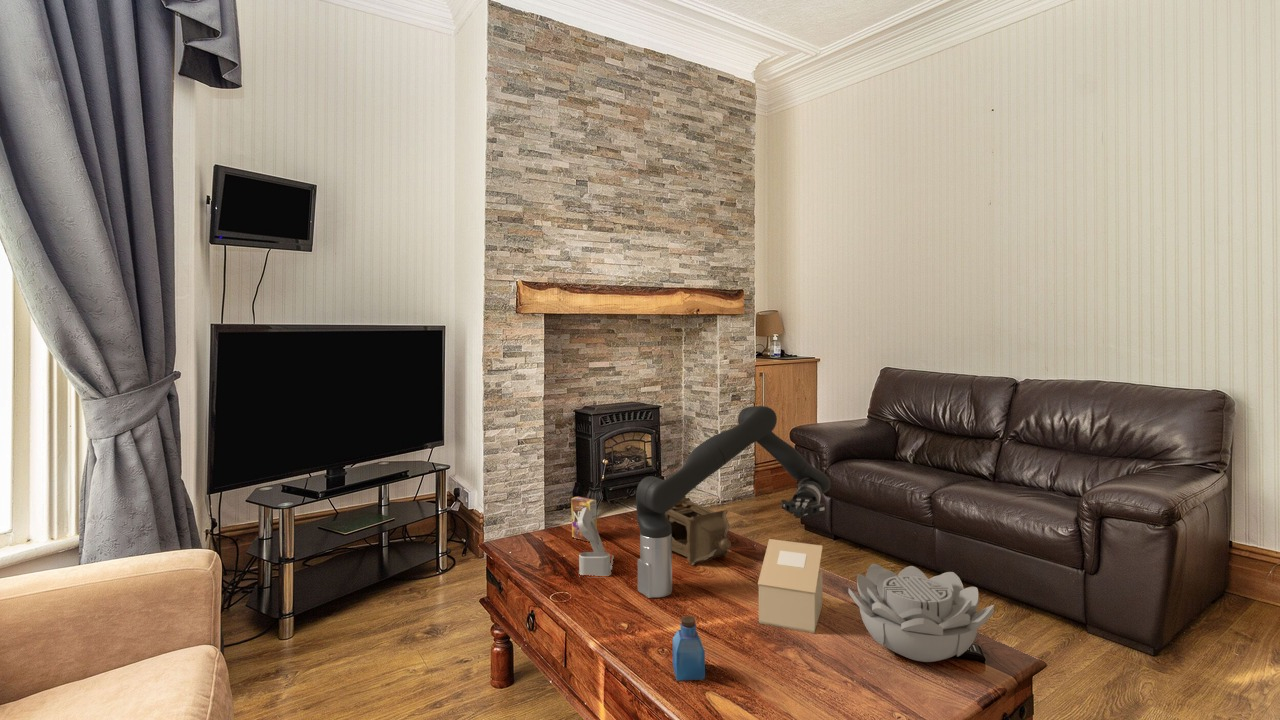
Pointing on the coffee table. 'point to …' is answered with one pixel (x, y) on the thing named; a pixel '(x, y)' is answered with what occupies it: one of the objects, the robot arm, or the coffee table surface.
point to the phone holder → (598, 559)
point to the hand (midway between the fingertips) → (798, 514)
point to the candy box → (577, 507)
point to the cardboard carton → (790, 607)
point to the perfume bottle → (688, 652)
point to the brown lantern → (698, 531)
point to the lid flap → (791, 566)
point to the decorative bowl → (919, 612)
